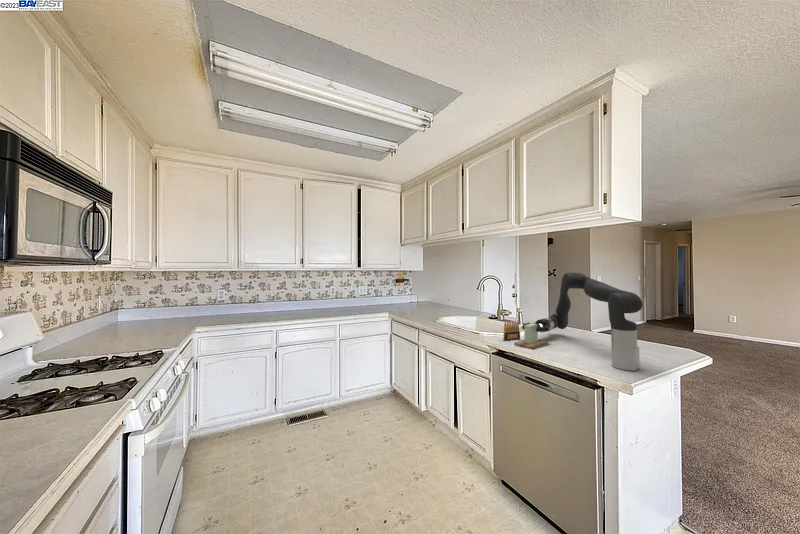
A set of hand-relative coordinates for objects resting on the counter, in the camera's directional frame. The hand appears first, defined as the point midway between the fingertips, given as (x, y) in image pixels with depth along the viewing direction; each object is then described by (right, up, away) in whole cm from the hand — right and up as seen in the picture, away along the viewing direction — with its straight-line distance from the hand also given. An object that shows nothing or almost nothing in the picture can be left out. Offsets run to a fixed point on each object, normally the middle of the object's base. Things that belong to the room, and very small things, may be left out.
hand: (529, 328), depth 170 cm
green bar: (+1, -8, 0) cm, 8 cm away
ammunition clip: (-5, -10, +13) cm, 17 cm away
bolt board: (+1, -10, +1) cm, 10 cm away
